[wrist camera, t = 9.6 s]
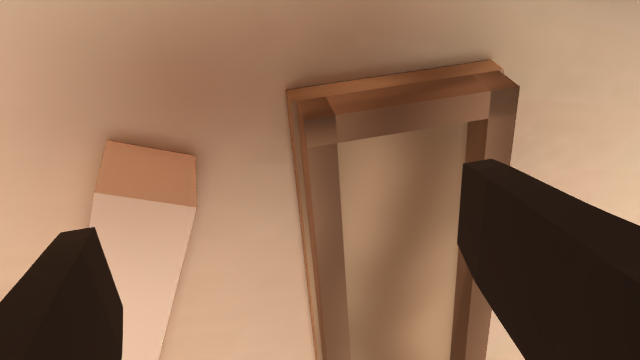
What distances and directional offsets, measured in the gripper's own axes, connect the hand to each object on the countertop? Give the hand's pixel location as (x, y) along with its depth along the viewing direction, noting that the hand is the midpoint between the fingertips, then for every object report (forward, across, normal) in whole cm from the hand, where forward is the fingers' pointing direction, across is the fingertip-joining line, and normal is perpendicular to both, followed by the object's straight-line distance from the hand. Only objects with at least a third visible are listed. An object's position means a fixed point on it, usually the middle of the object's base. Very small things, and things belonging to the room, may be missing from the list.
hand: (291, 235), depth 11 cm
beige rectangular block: (+10, +6, +8) cm, 14 cm away
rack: (+9, -5, +11) cm, 15 cm away
